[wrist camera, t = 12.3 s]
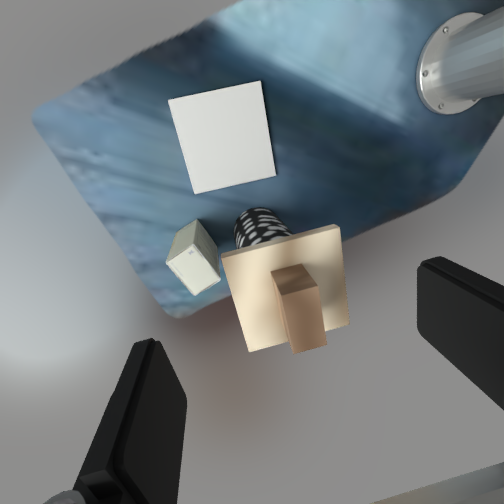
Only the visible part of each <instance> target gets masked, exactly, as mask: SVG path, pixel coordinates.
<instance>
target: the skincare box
mask: <svg viewBox="0 0 504 504" xmlns="http://www.w3.org/2000/svg"><path fill="white" fill-rule="evenodd" d="M166 263H167V265H168V266H169V267H170V269H171V270H172V271H173V272H174V274H175V275H176V276H177V277H178V278H179V279H180V281H181V282H182V283H183V284H184V285H185V286H186V287H187V289H188V290H189V291H190V292H191V293H192V294H193V295H194V296H195V295H197V294H199V293H200V292H202V291H204V290H206V289H207V288H209V287H211V286H212V285H214V284H216V283H217V282H219V281H220V269H219V259H218V249H217V246H216V244H215V243H214V241H213V240H212V238H211V237H210V236H209V234H208V233H207V231H206V230H205V229H204V227H203V226H202V225H201V223H200V222H199V221H198V220H197V219H196V220H195V221H193V222H191V223H190V224H188V225H187V226H185V227H184V228H182V229H181V230H179V231H178V232H176V235H175V238H174V241H173V243H172V246H171V249H170V252H169V255H168V258H167V261H166Z"/></svg>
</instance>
